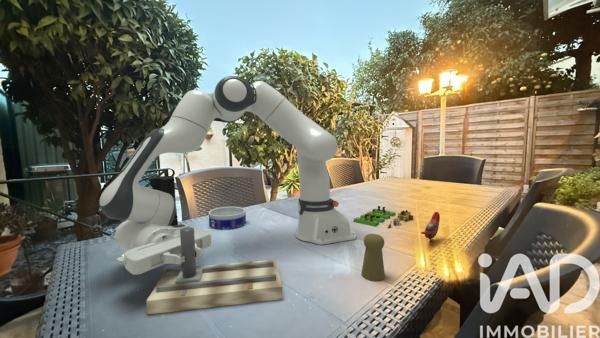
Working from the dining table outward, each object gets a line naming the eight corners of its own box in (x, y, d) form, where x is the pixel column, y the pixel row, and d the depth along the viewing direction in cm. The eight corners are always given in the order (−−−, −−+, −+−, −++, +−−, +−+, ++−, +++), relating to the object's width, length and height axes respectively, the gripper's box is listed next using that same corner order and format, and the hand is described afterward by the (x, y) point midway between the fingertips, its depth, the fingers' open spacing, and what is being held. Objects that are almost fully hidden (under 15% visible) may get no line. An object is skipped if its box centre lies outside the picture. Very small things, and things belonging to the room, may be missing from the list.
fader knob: (202, 272, 66) (200, 225, 65) (198, 283, 61) (196, 232, 60) (180, 274, 65) (178, 226, 64) (175, 285, 60) (172, 233, 59)
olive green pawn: (358, 270, 74) (359, 231, 73) (379, 269, 75) (380, 231, 73) (365, 281, 68) (366, 240, 67) (388, 280, 69) (390, 239, 67)
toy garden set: (375, 212, 136) (375, 203, 135) (414, 219, 124) (415, 209, 123) (353, 223, 118) (353, 212, 117) (396, 232, 106) (397, 221, 105)
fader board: (275, 269, 74) (275, 256, 74) (282, 299, 61) (281, 282, 60) (167, 280, 69) (166, 265, 69) (147, 314, 56) (145, 296, 55)
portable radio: (166, 242, 94) (162, 172, 92) (151, 241, 96) (146, 171, 93) (180, 235, 102) (176, 169, 99) (166, 234, 103) (162, 169, 101)
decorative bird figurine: (441, 237, 99) (443, 211, 98) (425, 252, 86) (426, 222, 85) (433, 235, 101) (434, 209, 99) (415, 250, 88) (417, 220, 87)
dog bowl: (253, 222, 118) (253, 209, 117) (226, 232, 105) (226, 217, 104) (228, 217, 126) (228, 204, 125) (201, 226, 113) (200, 212, 112)
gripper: (111, 245, 61) (143, 260, 53) (191, 222, 78) (224, 230, 70) (113, 272, 61) (145, 290, 54) (192, 243, 79) (225, 254, 71)
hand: (190, 256), depth 62 cm, fingers closed on fader knob, 3 cm apart
